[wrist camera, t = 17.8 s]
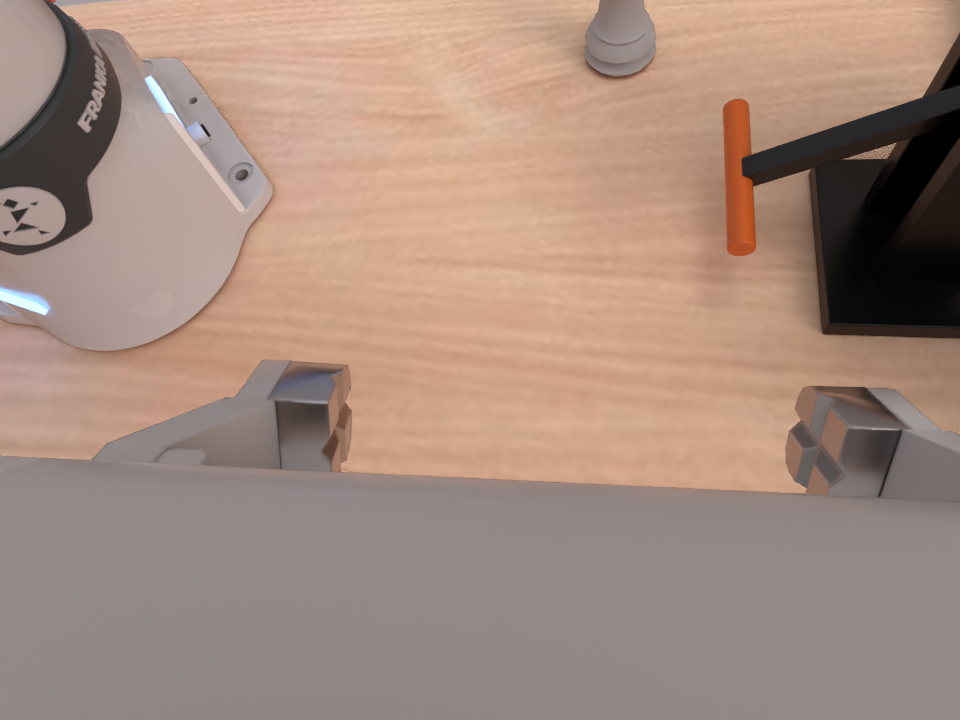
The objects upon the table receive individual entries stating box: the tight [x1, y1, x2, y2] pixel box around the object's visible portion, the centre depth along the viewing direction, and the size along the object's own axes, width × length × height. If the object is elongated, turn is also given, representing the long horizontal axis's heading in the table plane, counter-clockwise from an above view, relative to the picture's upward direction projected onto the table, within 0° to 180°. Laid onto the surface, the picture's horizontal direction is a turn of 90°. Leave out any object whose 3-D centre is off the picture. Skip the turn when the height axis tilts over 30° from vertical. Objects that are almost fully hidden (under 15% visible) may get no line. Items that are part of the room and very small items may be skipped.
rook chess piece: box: [585, 0, 656, 77], centre depth 42 cm, size 4×4×8 cm
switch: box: [723, 85, 960, 256], centre depth 29 cm, size 13×8×2 cm, turn 86°
